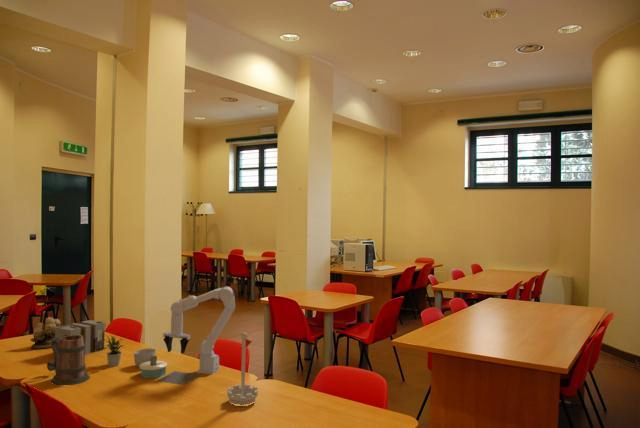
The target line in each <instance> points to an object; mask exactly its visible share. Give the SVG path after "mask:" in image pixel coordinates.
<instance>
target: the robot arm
mask: <svg viewBox="0 0 640 428" xmlns="http://www.w3.org/2000/svg"><path fill="white" fill-rule="evenodd" d="M211 299H215V300H221V302H222V303H223V306H224V309H223V310H222V312H221V314H220V315H219V318H218V319H217V321H216V322H215V324H214V325H213V328H212V329H211V330H210V333H209V334H208V335H207V337H206V338H205V339H204V340H203V341H202V342H201V345H200V347H199V365H198V367H199V369H198V370H196V371H195V373H196V374H197V373H198V374H205V375H206V374H207V375H214V374H215V373H217V372H219V371H220V370H221V369H220V356H219V355H218V354H215V351H214V350H213V349H214V347H215V343H216V341H218V338H219V337H220V335H221V332H222V331H223V329H224V328H225V327H226V324H227V323H228V321H229V319H230V318H231V316H232V314H233V313H234V311H235V309H236V301H235V300H236V299H235V292H234V290H233V288H232V287H230V286H223V287H219V288H215V289H213V290H209V291H208V292H206V293H203V294H200V295H198V296H195V295H191V294H190V295H188V296H187V297H185V298H183V299H182V298H180V299H178V300H176V301H174V302H173V303H172V304H171V306H170V312H171V318H170V332H167V331H165V332H163V333H162V337H163V341H164V343H165V346H166V350H167V352H168V353H170V352H172V350H173V349H172V347H173V346H172V345H173V340H174V339H180V340H179V342H180V343H179V344H180V354H184V353H185V352H186V348H187V346H188V344H189V341H190V339H191V334H187V333H183V328H184V314H183V312H184V311H188V310H190V309H193V308H196V307H198V305H199V303H202V302H206V301H208V300H211Z"/></svg>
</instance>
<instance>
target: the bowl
mask: <svg viewBox="0 0 640 428" xmlns="http://www.w3.org/2000/svg"><path fill="white" fill-rule="evenodd" d="M166 372H167V366H166V367H165V368H162V369H158V370H143V369H140V376H141V377H142V378H145V379H158V378H162V377H164V376H166V374H167V373H166Z"/></svg>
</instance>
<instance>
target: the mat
mask: <svg viewBox="0 0 640 428" xmlns="http://www.w3.org/2000/svg"><path fill="white" fill-rule="evenodd" d="M200 376H201V374H200V373H198V374H197V373H189V372H183V371H176V370H174V371H172V372H170V373H168V374H167V375H166V374H165V375H164V376H162V377H160V378H159V379H157V380H156V382H161V383H168V384H169V383H170V384H175V385H181V386H182V385H183V386H185V385H187V384H189V383H190V382H192V381H194V380H195V379H196V378H198V377H200Z"/></svg>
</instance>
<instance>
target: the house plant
mask: <svg viewBox="0 0 640 428" xmlns="http://www.w3.org/2000/svg"><path fill="white" fill-rule="evenodd" d="M110 336H111V339H110V337H109V336H108V335H107V334H105V337H106V338H107V339H105V340H104V343H107V344H105V346H106V347H104V348H103V350H105V349H106V350H107V348H108V349H109V350H110V351H109V350H108V352H107V353H106V357H107V365H108V367H118V366H119V365H120V361H121V357H122V351H121V350H122V349H123V347H126V346H125V345H124V344H122V345H121V343H122V342H123V341H124V340H125V339H126V338H128V336H127V337H125V338H123V336H122V337H121V338H120V339H118V340H116V337H115V336H114V335H113V334H111V335H110ZM122 338H123V339H122ZM99 339H102V338H99ZM103 350H102V351H103Z"/></svg>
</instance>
